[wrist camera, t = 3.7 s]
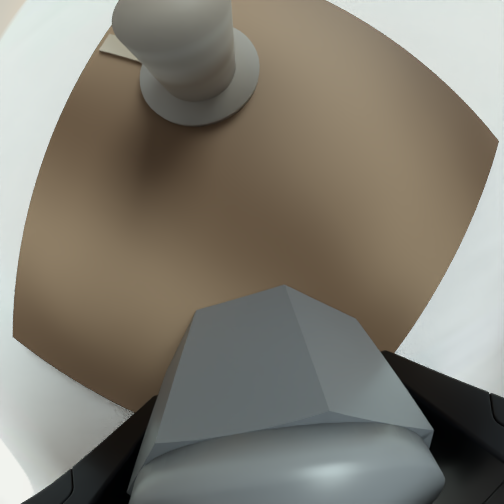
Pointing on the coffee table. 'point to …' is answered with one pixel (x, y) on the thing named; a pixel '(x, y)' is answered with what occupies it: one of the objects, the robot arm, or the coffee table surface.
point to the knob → (283, 413)
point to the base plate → (239, 183)
